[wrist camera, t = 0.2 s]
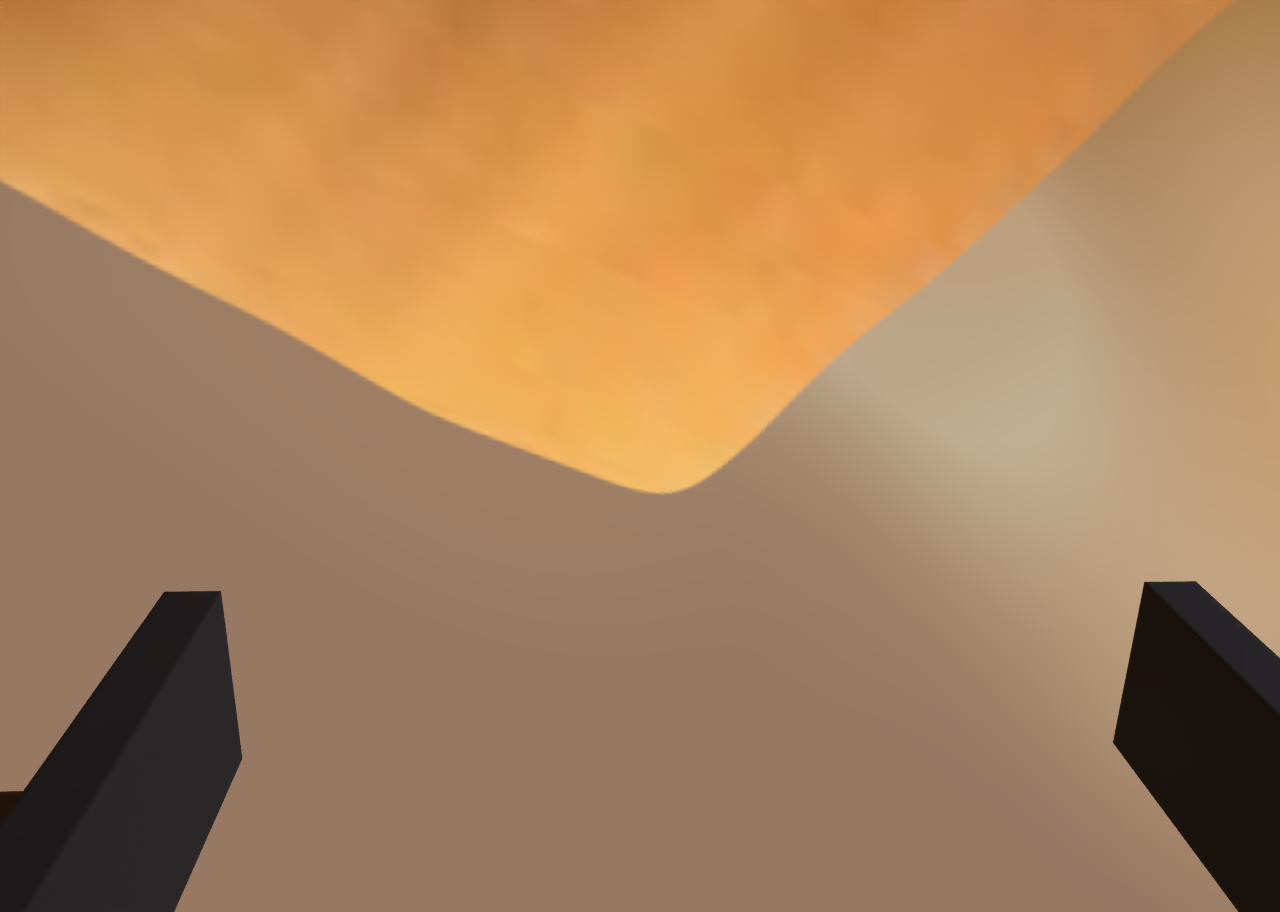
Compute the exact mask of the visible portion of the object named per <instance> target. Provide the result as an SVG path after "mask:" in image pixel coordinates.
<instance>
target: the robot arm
mask: <svg viewBox="0 0 1280 912" xmlns="http://www.w3.org/2000/svg"><path fill="white" fill-rule="evenodd" d="M1113 743H1114V745H1115V746H1116V747H1117V749H1118V750H1119V751H1120V753H1121V754H1122V755H1123V757H1124V758H1125V759H1126V761H1127V762H1128V763H1129V765H1130V766H1131V768H1132V769H1133V770H1134V771H1135V773H1136V774H1137V776H1138V777H1139V778H1140V780H1141V781H1142V782H1143V784H1144V785H1145V786H1146V788H1147V789H1148V790H1149V792H1150V793H1151V795H1152V796H1153V797H1154V798H1155V800H1156V801H1157V803H1158V804H1159V805H1160V807H1161V808H1162V809H1163V811H1164V812H1165V813H1166V815H1167V816H1168V817H1169V819H1170V820H1171V821H1172V823H1173V824H1174V826H1175V827H1176V828H1177V829H1178V831H1179V832H1180V834H1181V835H1182V836H1183V838H1184V839H1185V840H1186V841H1187V843H1188V844H1189V846H1190V847H1191V848H1192V850H1193V851H1194V852H1195V854H1196V855H1197V857H1198V858H1199V859H1200V861H1201V862H1202V863H1203V865H1204V866H1205V867H1206V869H1207V870H1208V871H1209V873H1210V874H1211V875H1212V877H1213V878H1214V879H1215V881H1216V882H1217V884H1218V885H1219V886H1220V887H1221V889H1222V890H1223V892H1224V893H1225V894H1226V896H1227V897H1228V898H1229V900H1230V901H1231V902H1232V904H1233V905H1234V906H1235V908H1236V909H1237V910H1238V912H1280V658H1279V657H1278V656H1277V655H1276V654H1275V653H1274V652H1273V651H1272V650H1270V649H1269V648H1268V647H1267V646H1266V645H1265V644H1264V643H1263V642H1262V641H1261V640H1259V639H1258V638H1257V637H1256V636H1255V635H1254V634H1253V633H1252V632H1251V631H1250V630H1248V629H1247V628H1246V627H1245V626H1244V625H1243V624H1242V623H1241V622H1240V621H1239V620H1237V619H1236V618H1235V617H1234V616H1233V615H1232V614H1231V613H1230V612H1229V611H1228V610H1226V609H1225V608H1224V607H1223V606H1222V605H1221V604H1220V603H1219V602H1218V601H1217V600H1216V599H1214V598H1213V597H1212V596H1211V595H1210V594H1209V593H1208V592H1207V591H1206V590H1205V589H1203V588H1202V587H1201V586H1200V585H1199V584H1198V583H1197V582H1195V581H1191V582H1144V587H1143V592H1142V598H1141V602H1140V607H1139V613H1138V617H1137V623H1136V628H1135V633H1134V638H1133V643H1132V648H1131V653H1130V658H1129V663H1128V669H1127V674H1126V679H1125V684H1124V689H1123V694H1122V699H1121V704H1120V709H1119V715H1118V720H1117V725H1116V730H1115V735H1114V740H1113ZM241 760H242V753H241V745H240V737H239V729H238V721H237V714H236V706H235V698H234V690H233V683H232V675H231V667H230V659H229V651H228V643H227V635H226V628H225V619H224V612H223V604H222V596H221V591H195V592H194V591H190V592H164V593H163V594H162V596H161V597H160V599H159V600H158V601H157V603H156V604H155V606H154V607H153V608H152V610H151V611H150V613H149V614H148V616H147V617H146V619H145V620H144V621H143V623H142V624H141V626H140V627H139V628H138V630H137V631H136V633H135V634H134V635H133V637H132V638H131V640H130V641H129V642H128V644H127V645H126V647H125V648H124V649H123V651H122V652H121V654H120V655H119V657H118V658H117V660H116V661H115V662H114V664H113V665H112V667H111V668H110V669H109V671H108V672H107V674H106V675H105V676H104V678H103V679H102V681H101V682H100V683H99V685H98V686H97V688H96V689H95V691H94V692H93V693H92V695H91V696H90V698H89V699H88V700H87V702H86V704H85V705H84V706H83V708H82V709H81V710H80V712H79V713H78V715H77V716H76V717H75V719H74V720H73V722H72V723H71V724H70V726H69V727H68V729H67V730H66V732H65V733H64V735H63V736H62V737H61V739H60V740H59V741H58V743H57V744H56V746H55V747H54V749H53V750H52V751H51V753H50V754H49V756H48V757H47V758H46V760H45V761H44V763H43V764H42V765H41V767H40V768H39V770H38V771H37V773H36V774H35V776H34V777H33V778H32V780H31V781H30V782H29V784H28V785H27V787H26V788H25V790H24V791H10V792H0V912H174V911H175V909H176V906H177V904H178V902H179V900H180V897H181V895H182V893H183V891H184V888H185V886H186V884H187V882H188V879H189V877H190V875H191V873H192V870H193V868H194V866H195V863H196V861H197V859H198V857H199V855H200V852H201V850H202V848H203V845H204V843H205V841H206V839H207V836H208V834H209V832H210V830H211V828H212V825H213V823H214V820H215V819H216V816H217V814H218V812H219V810H220V807H221V805H222V803H223V801H224V798H225V796H226V794H227V791H228V789H229V787H230V785H231V782H232V780H233V778H234V776H235V774H236V771H237V769H238V767H239V765H240V762H241Z"/></svg>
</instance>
